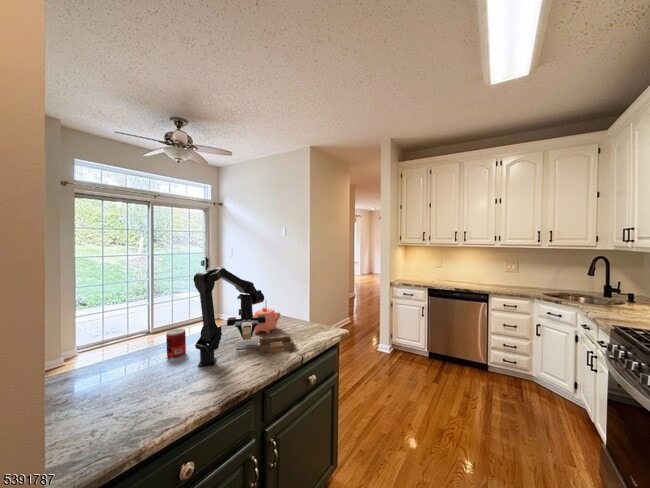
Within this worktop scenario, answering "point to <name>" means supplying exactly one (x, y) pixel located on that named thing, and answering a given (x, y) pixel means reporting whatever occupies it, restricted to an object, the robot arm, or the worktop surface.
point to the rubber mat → (247, 344)
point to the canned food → (176, 343)
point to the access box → (276, 344)
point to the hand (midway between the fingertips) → (247, 337)
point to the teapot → (267, 320)
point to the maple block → (247, 332)
